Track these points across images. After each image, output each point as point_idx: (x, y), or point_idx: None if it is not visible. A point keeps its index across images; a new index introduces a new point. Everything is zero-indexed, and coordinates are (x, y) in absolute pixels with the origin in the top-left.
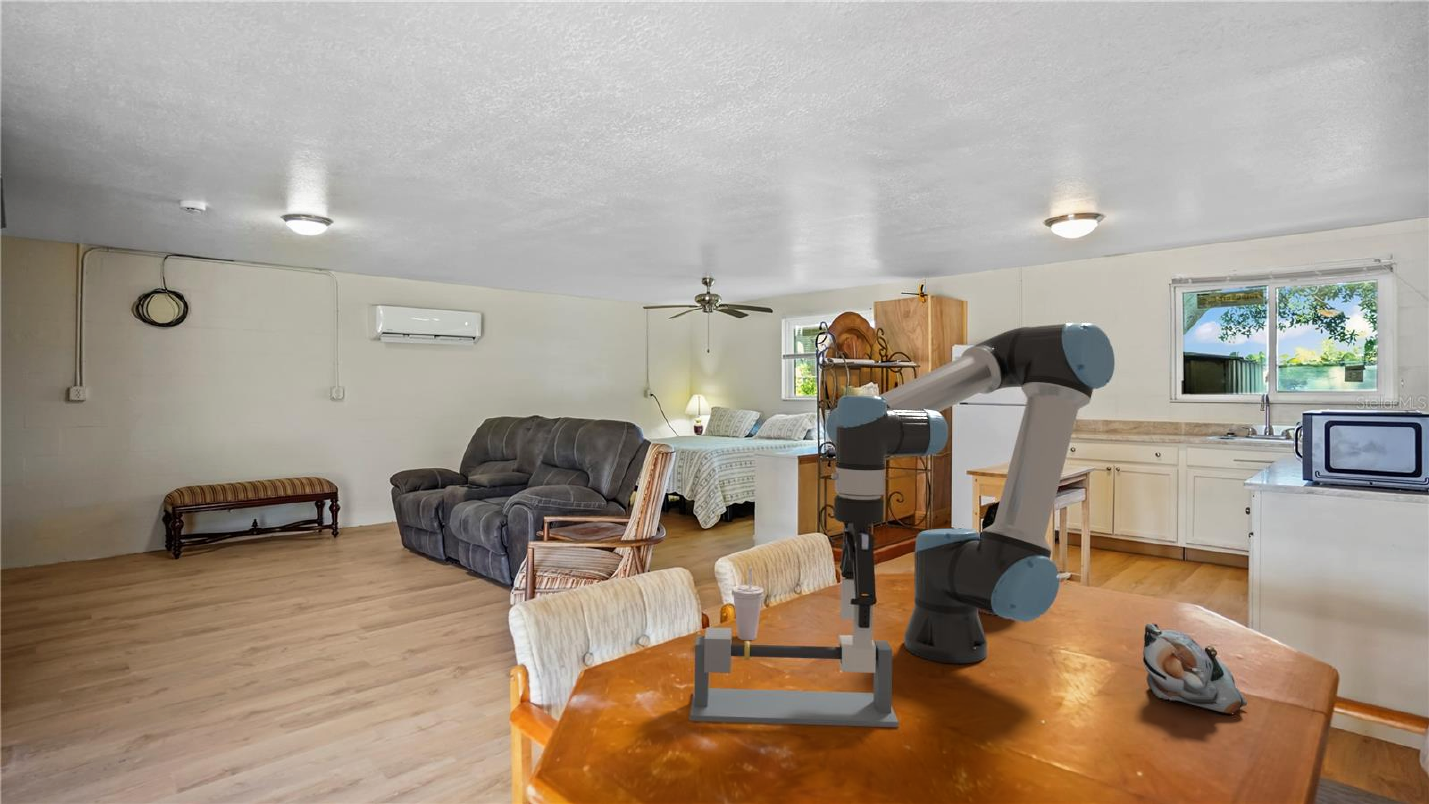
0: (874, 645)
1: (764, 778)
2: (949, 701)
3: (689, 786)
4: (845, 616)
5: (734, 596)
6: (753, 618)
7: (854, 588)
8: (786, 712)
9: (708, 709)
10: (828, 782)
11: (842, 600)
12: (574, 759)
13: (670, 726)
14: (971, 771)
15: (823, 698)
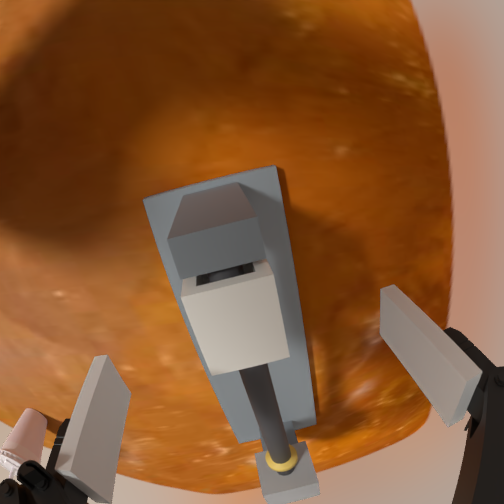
0: (274, 278)
1: None
2: (118, 72)
3: None
4: (124, 391)
5: None
6: (31, 435)
7: (461, 467)
8: None
9: (297, 417)
10: (437, 255)
11: (120, 439)
12: (388, 439)
13: (329, 425)
14: (389, 64)
15: None
